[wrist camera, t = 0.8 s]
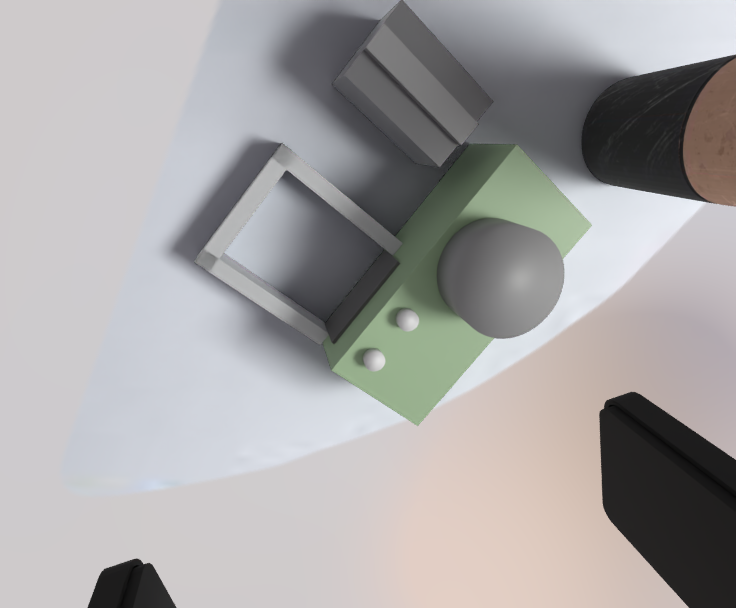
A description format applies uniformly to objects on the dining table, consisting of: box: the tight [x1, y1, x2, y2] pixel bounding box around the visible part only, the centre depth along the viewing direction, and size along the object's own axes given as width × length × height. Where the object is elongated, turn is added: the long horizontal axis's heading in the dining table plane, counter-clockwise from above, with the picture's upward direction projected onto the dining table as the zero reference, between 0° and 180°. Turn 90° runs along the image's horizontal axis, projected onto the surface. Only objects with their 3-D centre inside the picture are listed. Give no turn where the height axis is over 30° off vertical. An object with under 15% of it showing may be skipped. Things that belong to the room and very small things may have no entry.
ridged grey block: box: [332, 0, 493, 167], centre depth 26 cm, size 4×7×5 cm, turn 50°
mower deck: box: [194, 143, 592, 426], centre depth 27 cm, size 16×16×9 cm
